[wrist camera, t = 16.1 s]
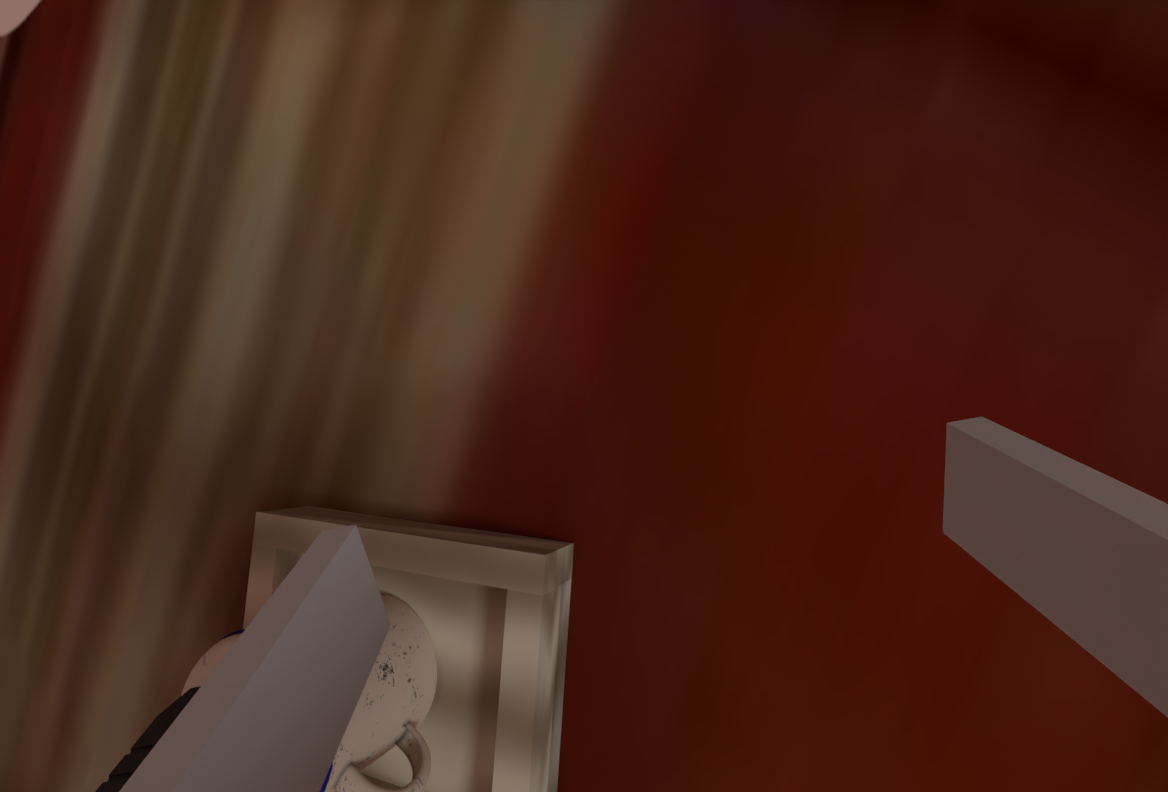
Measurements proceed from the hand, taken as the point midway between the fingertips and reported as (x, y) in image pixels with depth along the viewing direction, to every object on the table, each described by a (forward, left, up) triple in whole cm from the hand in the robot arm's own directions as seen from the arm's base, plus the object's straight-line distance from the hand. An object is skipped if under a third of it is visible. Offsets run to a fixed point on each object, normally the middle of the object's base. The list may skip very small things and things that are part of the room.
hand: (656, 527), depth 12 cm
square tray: (+13, -18, -18) cm, 28 cm away
